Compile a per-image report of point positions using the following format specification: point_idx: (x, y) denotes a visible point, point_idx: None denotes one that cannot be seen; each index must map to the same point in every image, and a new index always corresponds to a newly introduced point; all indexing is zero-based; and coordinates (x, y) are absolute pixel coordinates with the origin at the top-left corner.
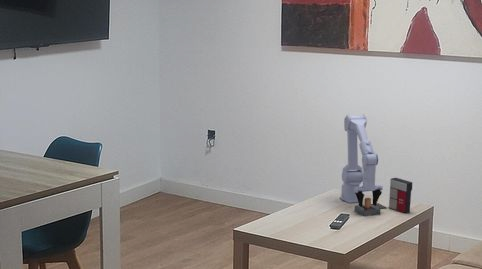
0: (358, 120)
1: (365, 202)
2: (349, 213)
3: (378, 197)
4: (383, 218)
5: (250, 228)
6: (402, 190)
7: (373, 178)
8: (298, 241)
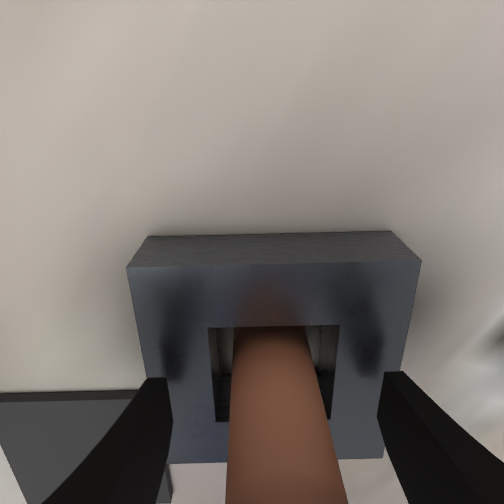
0: None
1: (331, 438)
2: (470, 355)
3: (60, 498)
4: (184, 46)
5: None
6: None
7: None
8: None
